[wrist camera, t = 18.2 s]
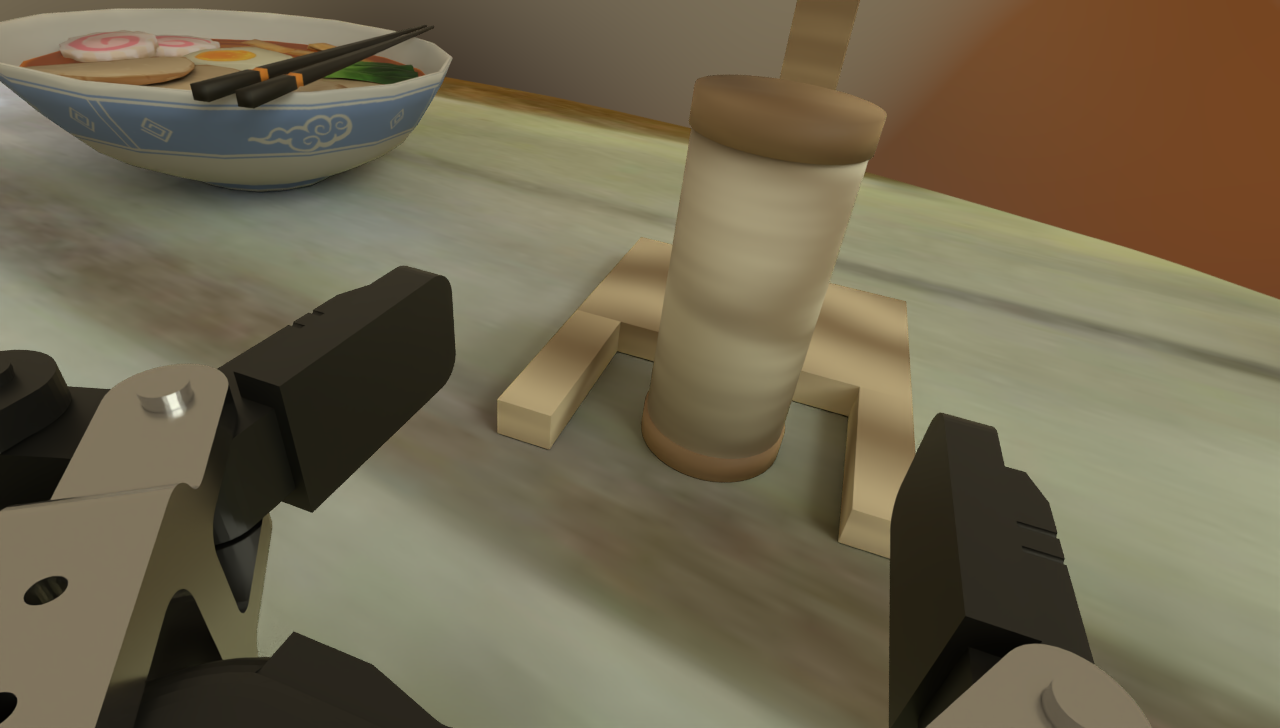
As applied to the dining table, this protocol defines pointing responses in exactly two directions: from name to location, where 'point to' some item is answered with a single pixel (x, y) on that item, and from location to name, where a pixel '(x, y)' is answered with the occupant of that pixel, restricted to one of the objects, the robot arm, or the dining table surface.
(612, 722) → the dining table surface
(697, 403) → the cord spool
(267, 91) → the ramen bowl
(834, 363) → the hook stand
